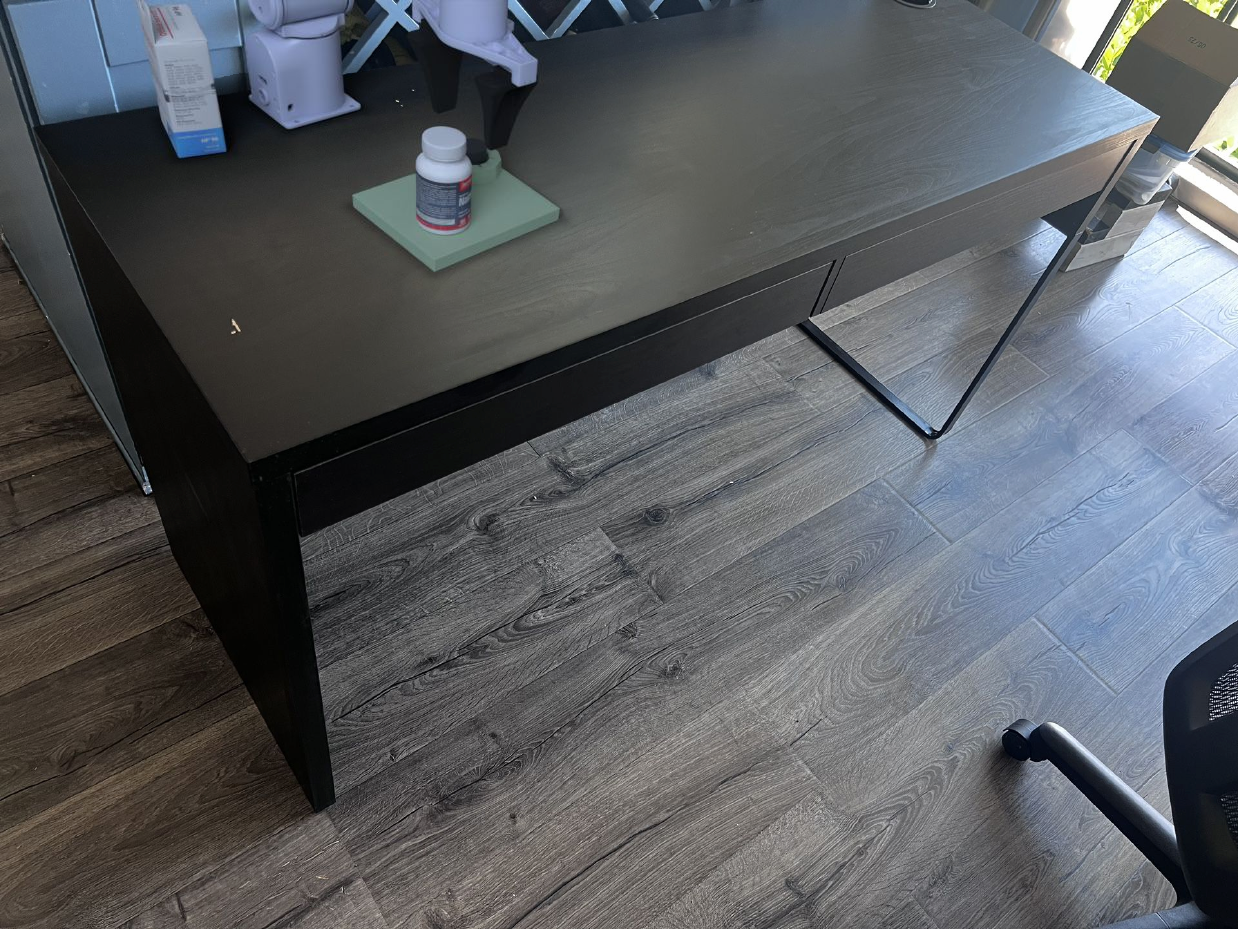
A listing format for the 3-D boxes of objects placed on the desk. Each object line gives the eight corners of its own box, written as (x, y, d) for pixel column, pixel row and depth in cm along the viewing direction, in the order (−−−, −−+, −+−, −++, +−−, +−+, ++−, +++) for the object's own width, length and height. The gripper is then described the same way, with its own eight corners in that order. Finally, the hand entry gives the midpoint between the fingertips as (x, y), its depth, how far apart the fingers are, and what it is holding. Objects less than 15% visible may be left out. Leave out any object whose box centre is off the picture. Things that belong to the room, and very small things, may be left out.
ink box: (229, 153, 97) (204, 6, 86) (178, 159, 95) (145, 10, 84) (209, 113, 102) (182, -31, 91) (159, 118, 99) (126, -28, 89)
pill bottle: (466, 240, 90) (469, 155, 84) (411, 232, 90) (410, 147, 83) (473, 210, 94) (476, 127, 87) (420, 202, 93) (420, 119, 87)
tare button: (469, 169, 97) (470, 155, 95) (451, 156, 98) (451, 142, 97) (492, 161, 98) (492, 147, 97) (473, 148, 99) (474, 134, 98)
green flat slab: (434, 272, 88) (434, 245, 86) (350, 204, 94) (348, 177, 92) (558, 220, 97) (561, 194, 95) (475, 161, 103) (476, 135, 101)
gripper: (570, -2, 76) (554, 151, 86) (457, -66, 82) (455, 84, 92) (503, 14, 72) (495, 172, 82) (390, -54, 78) (395, 101, 88)
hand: (470, 127), depth 87 cm, fingers open, 7 cm apart
